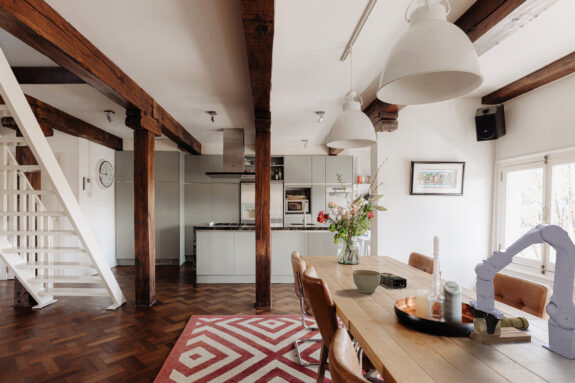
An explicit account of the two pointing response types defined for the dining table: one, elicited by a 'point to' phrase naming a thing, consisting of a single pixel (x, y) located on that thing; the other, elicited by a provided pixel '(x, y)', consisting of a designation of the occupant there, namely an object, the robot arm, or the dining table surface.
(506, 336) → the walnut board
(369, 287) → the planter bowl
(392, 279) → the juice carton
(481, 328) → the pale gold block
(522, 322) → the gavel
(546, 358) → the dining table surface
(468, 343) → the dining table surface
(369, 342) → the dining table surface
